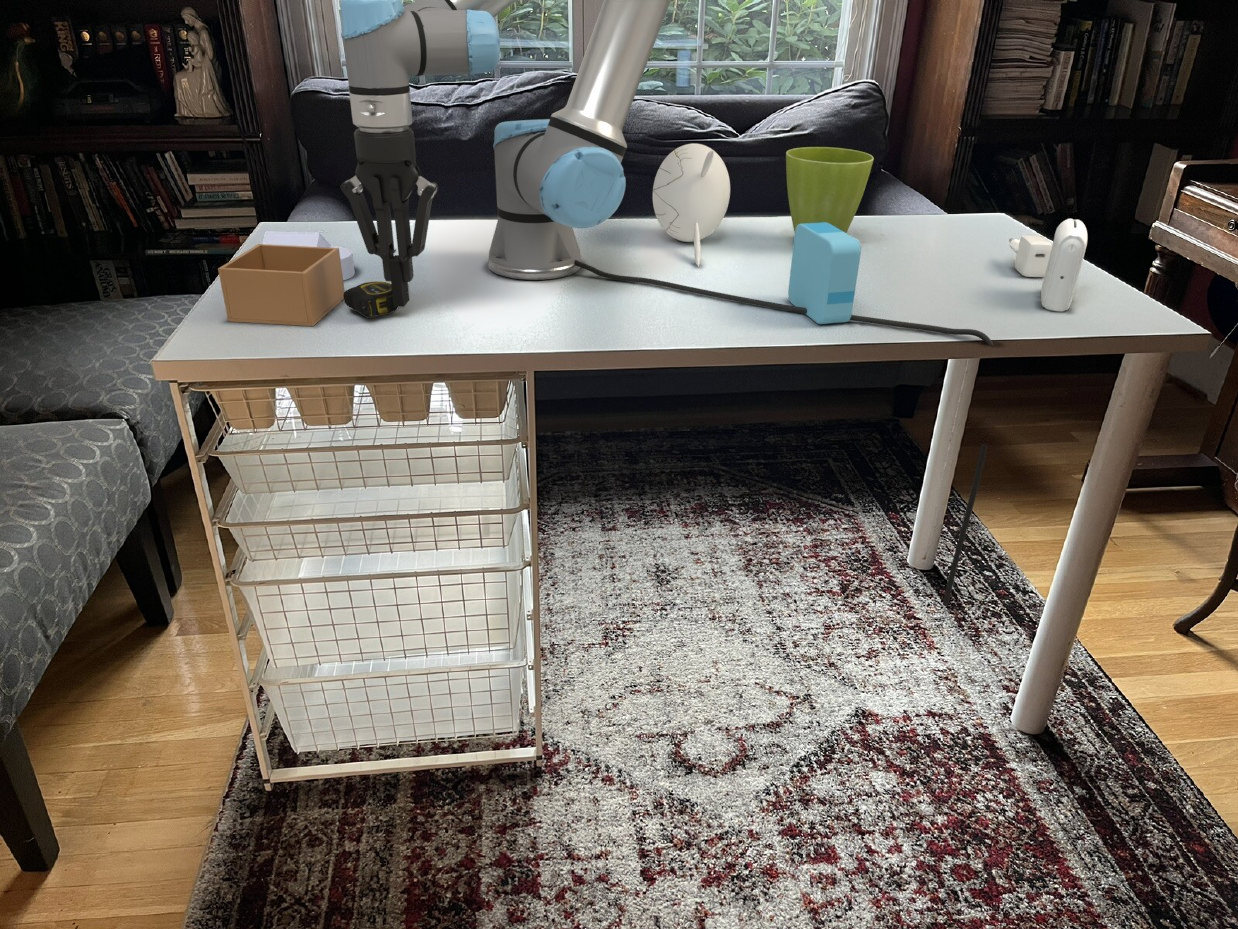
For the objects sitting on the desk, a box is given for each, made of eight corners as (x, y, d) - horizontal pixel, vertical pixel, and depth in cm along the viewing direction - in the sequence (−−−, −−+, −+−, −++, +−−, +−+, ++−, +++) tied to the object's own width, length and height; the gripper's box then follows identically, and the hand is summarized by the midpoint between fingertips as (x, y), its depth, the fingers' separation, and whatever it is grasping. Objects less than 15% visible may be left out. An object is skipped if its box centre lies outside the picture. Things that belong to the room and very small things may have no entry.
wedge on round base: (262, 282, 142) (345, 284, 142) (254, 239, 139) (340, 241, 139) (281, 264, 150) (361, 266, 150) (275, 223, 147) (356, 225, 147)
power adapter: (999, 258, 161) (1007, 225, 159) (1027, 259, 161) (1035, 226, 158) (1019, 278, 152) (1028, 242, 149) (1049, 279, 151) (1058, 243, 149)
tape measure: (343, 311, 132) (340, 285, 130) (387, 301, 136) (384, 277, 134) (364, 324, 127) (361, 298, 125) (409, 314, 131) (406, 289, 129)
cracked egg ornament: (654, 137, 169) (665, 143, 146) (728, 145, 170) (750, 151, 147) (643, 242, 176) (652, 263, 152) (714, 248, 177) (734, 270, 153)
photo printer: (1070, 313, 137) (1093, 230, 131) (1039, 309, 138) (1060, 227, 132) (1068, 293, 145) (1089, 214, 139) (1039, 289, 147) (1058, 211, 140)
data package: (850, 325, 131) (863, 241, 125) (821, 327, 130) (833, 243, 124) (813, 298, 141) (823, 219, 135) (786, 300, 140) (795, 221, 134)
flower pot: (799, 230, 175) (809, 143, 168) (873, 244, 168) (887, 153, 160) (762, 247, 165) (771, 154, 157) (839, 263, 157) (852, 166, 149)
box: (345, 297, 137) (339, 247, 133) (313, 326, 126) (305, 273, 123) (266, 293, 138) (258, 243, 134) (228, 321, 127) (217, 268, 124)
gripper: (323, 130, 115) (347, 309, 127) (424, 133, 114) (439, 314, 126) (345, 121, 122) (366, 292, 133) (440, 124, 121) (453, 297, 132)
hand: (401, 303), depth 130 cm, fingers closed
